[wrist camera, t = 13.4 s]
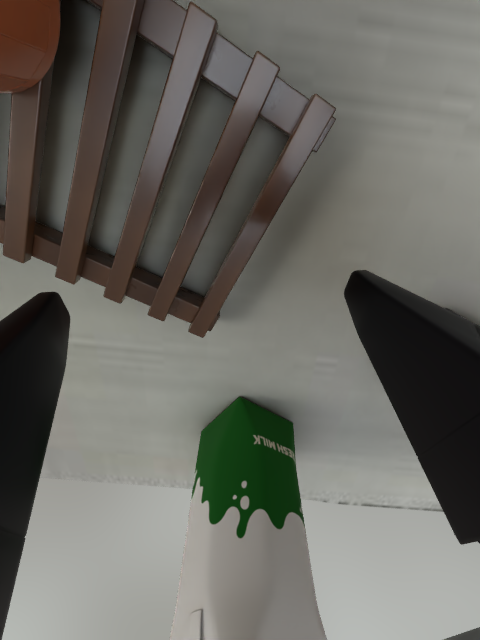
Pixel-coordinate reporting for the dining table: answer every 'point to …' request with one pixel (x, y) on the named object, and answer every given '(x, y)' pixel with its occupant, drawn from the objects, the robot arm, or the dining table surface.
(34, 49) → the tumbler
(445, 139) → the dining table surface
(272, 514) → the milk carton
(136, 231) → the drying rack
